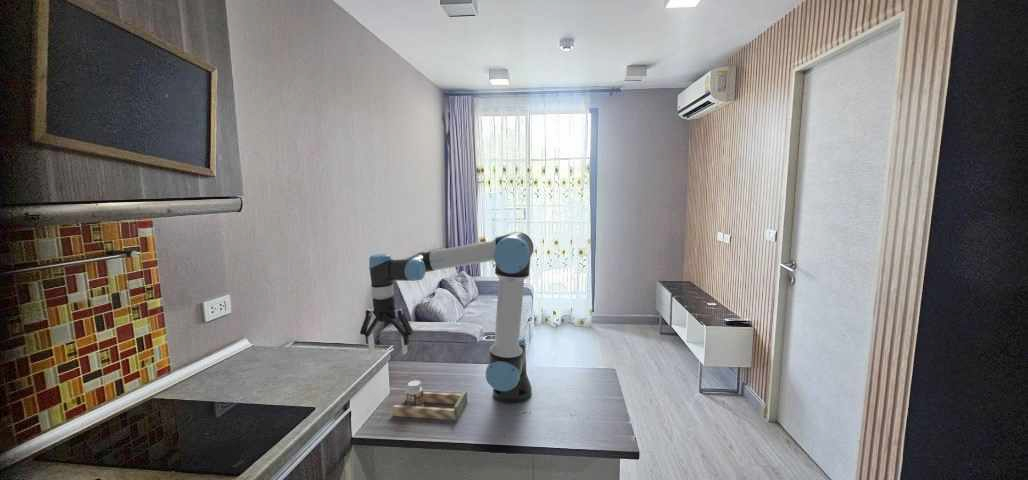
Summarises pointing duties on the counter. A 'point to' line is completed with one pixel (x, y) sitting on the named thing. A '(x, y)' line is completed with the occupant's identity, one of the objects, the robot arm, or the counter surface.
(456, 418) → the bay
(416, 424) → the counter surface
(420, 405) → the pill bottle
